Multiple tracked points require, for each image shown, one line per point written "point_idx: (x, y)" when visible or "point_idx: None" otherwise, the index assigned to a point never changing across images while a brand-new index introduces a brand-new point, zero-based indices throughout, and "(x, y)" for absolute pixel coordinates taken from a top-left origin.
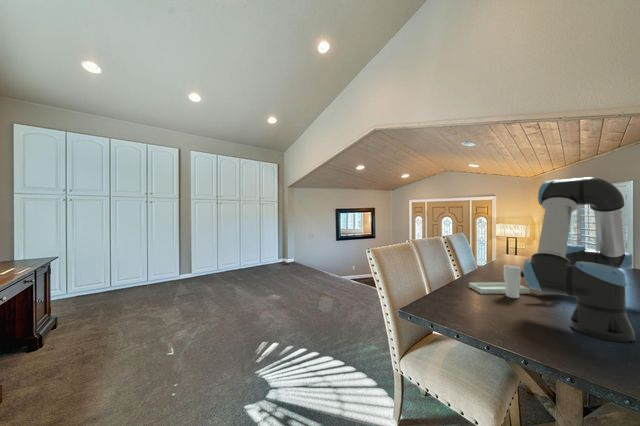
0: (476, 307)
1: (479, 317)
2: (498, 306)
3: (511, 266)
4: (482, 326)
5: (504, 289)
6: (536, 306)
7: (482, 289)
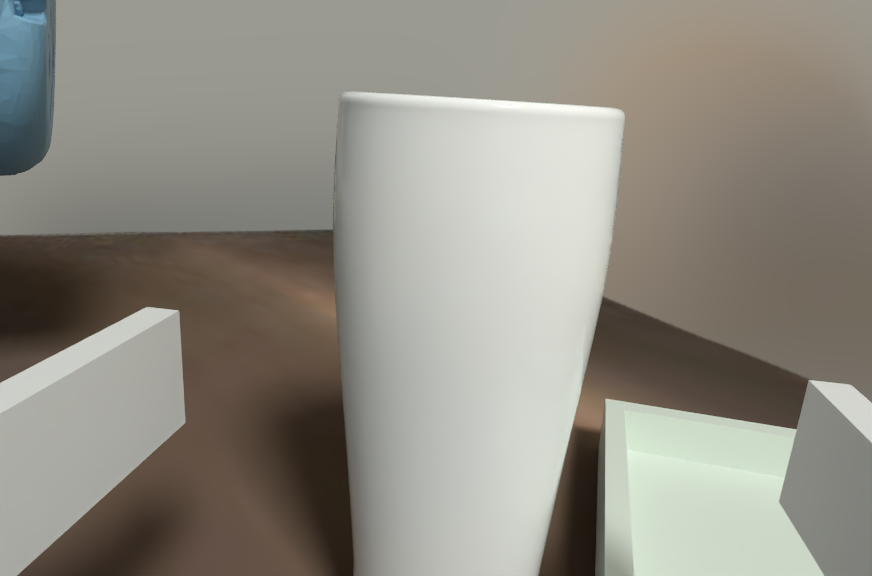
0: None
1: (251, 277)
2: (295, 368)
3: (585, 132)
4: (193, 257)
5: (602, 569)
6: (56, 555)
7: (605, 402)
